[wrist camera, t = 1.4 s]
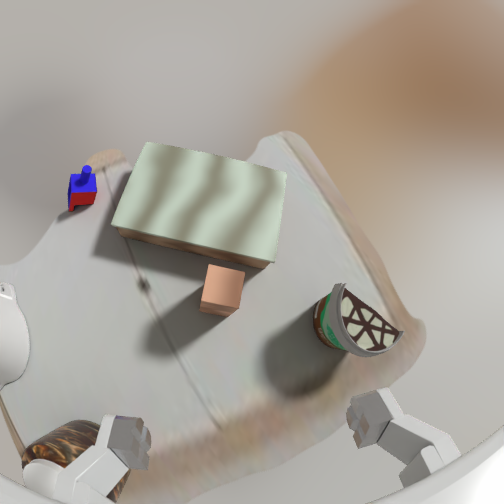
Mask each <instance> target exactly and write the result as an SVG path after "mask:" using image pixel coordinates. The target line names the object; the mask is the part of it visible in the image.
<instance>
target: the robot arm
mask: <svg viewBox="0 0 504 504" xmlns="http://www.w3.org/2000/svg"><path fill="white" fill-rule="evenodd" d="M3 289H4V292H3ZM29 350H30V342H29V333H28V328H27V324H26V321H25V318H24V316H23V314H22V312H21V310H20V308H19V306H18V304H17V302H16V295H15V290H14V287H13V285H11V284H8V283H2V282H0V390H1V389H2V387H3V386H4V385H5V384H6V383H10V382H13V381H15V380H17V379H18V378H19V377H20V376H21V375H22V374H23V372H24V370H25V368H26V366H27V362H28V358H29ZM350 403H351V406H350V407H349V408H348V409H347V413H346V416H347V423H348V425H349V428H350V429H352V430H353V431H355V433H354V435H353V437H354V440H355V442H356V445H357V447H358V449H359V448H362V447H366V446H369V445H372V444H375V443H377V445H379V446H380V447H382V448H383V449H384V450H386V451H387V452H389V453H390V454H391V455H393V456H394V457H396V458H397V459H399V460H400V461H402V462H403V463H405V464H406V465H407V466H406V467H405V469H404V470H403V471H402V472H401V473H400V475H399V477H400V480H401V482H402V484H403V487H404V488H403V489H401V490H399V491H397V492H394V493H392V494H390V495H387V496H385V497H382V498H380V499H377V500H375V501H372V502H369V503H366V504H504V425H503V426H502V427H500V428H499V429H498V430H497V431H496V432H494V433H493V434H492V435H491V436H489V437H488V438H487V439H485V440H484V441H483V442H481V443H480V444H479V445H477V446H476V447H474V448H473V449H472V450H470V451H469V452H467V453H466V454H464V455H463V456H462V455H461V453H460V451H459V450H458V448H457V446H456V445H455V443H454V442H453V440H452V438H451V437H450V435H449V434H447V433H445V432H443V431H441V430H439V429H437V428H435V427H432V426H430V425H428V424H426V423H424V422H422V421H420V420H418V419H416V418H414V417H412V416H410V415H408V414H406V415H404V413H403V412H402V410H401V408H400V407H399V405H398V403H397V402H396V400H395V398H394V397H393V395H392V393H391V392H390V390H389V389H388V388H387V387H384V388H381V389H378V390H374V391H370V392H367V393H364V394H360V395H357V396H353V397H352V398H351V400H350ZM143 424H144V422H143V420H142V419H141V418H138V417H126V416H117V415H108V414H105V416H104V417H103V419H102V422H101V426H100V429H99V433H98V436H97V440H96V443H95V446H93V445H92V446H90V447H89V448H88V449H87V450H86V451H85V452H84V453H82V454H81V455H80V456H79V457H78V458H77V459H75V460H74V461H73V462H72V463H71V464H69V465H68V466H67V467H66V468H65V469H63V470H62V471H61V472H60V473H59V474H58V476H57V480H56V484H55V488H54V492H53V496H52V499H51V498H49V497H47V496H44V495H42V494H40V493H37V492H35V491H33V490H31V489H29V488H27V487H25V486H23V485H21V484H19V483H16V482H15V481H13V480H11V479H9V478H7V477H6V476H4V475H2V474H0V504H115V503H114V502H113V501H111V500H110V499H108V498H107V497H106V496H107V495H108V494H109V492H110V491H111V490H112V489H113V488H114V487H115V485H116V484H117V483H118V482H119V481H120V479H121V478H122V477H123V476H124V475H125V473H126V472H127V471H128V470H129V469H128V468H131V469H141V470H148V464H149V456H148V454H147V453H146V452H147V451H148V450H149V449H150V448H151V435H150V432H149V430H148V428H146V427H145V426H143Z"/></svg>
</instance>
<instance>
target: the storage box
mask: <svg viewBox="0 0 504 504" xmlns="http://www.w3.org/2000/svg"><path fill="white" fill-rule="evenodd" d="M286 177H287V173H285V172H282V171H278V170H274V169H271V168H267V167H263V166H259V165H256V164H252V163H248V162H244V161H240V160H235V159H230V158H227V157H223V156H218V155H214V154H209V153H204V152H200V151H195V150H189V149H184V148H180V147H174V146H168V145H163V144H157V143H151V142H146V144H145V146H144V148H143V150H142V152H141V154H140V156H139V158H138V160H137V162H136V165H135V167H134V169H133V171H132V173H131V175H130V178H129V180H128V182H127V185H126V187H125V189H124V192H123V194H122V197H121V199H120V202H119V204H118V207H117V209H116V212H115V214H114V217H113V220H112V222H111V225H112V226H114V227H116V228H117V230H118V231H119V233H120V235H121V236H122V237H126V238H130V239H135V240H139V241H143V242H147V243H152V244H156V245H160V246H164V247H169V248H173V249H177V250H181V251H186V252H190V253H195V254H199V255H203V256H208V257H212V258H216V259H221V260H225V261H230V262H234V263H239V264H243V265H248V266H252V267H257V268H261V269H265V268H266V266H267V265H268V264H269V263H270V262H271V263H274V262H275V259H276V252H277V245H278V238H279V231H280V223H281V216H282V208H283V201H284V193H285V185H286Z"/></svg>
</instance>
